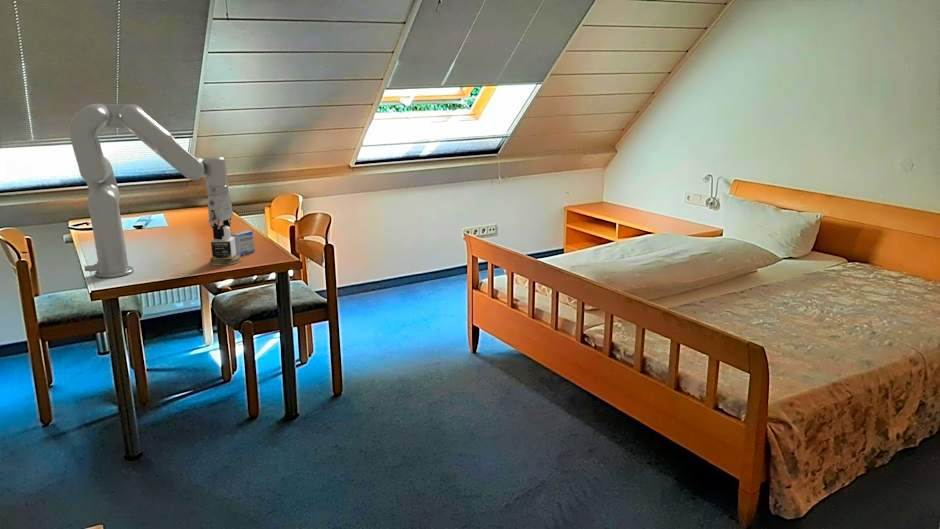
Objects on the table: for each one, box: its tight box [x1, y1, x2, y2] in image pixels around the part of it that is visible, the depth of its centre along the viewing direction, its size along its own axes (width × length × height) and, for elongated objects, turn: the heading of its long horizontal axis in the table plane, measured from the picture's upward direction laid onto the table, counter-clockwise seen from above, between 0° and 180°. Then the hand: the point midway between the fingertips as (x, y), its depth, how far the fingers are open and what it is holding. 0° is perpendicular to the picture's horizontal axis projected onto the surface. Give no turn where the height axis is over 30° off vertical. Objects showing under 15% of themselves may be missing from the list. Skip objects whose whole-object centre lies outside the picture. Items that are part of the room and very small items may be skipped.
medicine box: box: [231, 230, 256, 257], centre depth 278 cm, size 8×4×9 cm, turn 151°
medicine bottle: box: [210, 225, 236, 259], centre depth 265 cm, size 7×7×12 cm
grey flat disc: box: [209, 255, 243, 267], centre depth 267 cm, size 12×12×2 cm
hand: (222, 236), depth 265 cm, fingers closed on medicine bottle, 6 cm apart
